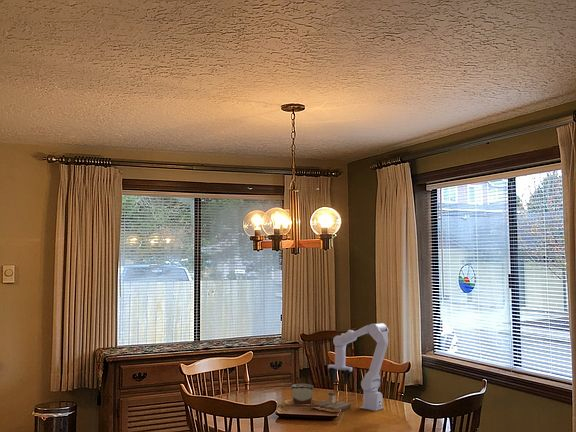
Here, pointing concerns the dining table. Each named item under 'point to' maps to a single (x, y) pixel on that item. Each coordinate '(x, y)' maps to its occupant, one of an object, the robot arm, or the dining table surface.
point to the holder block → (335, 407)
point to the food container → (302, 393)
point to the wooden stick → (331, 398)
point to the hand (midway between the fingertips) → (339, 383)
